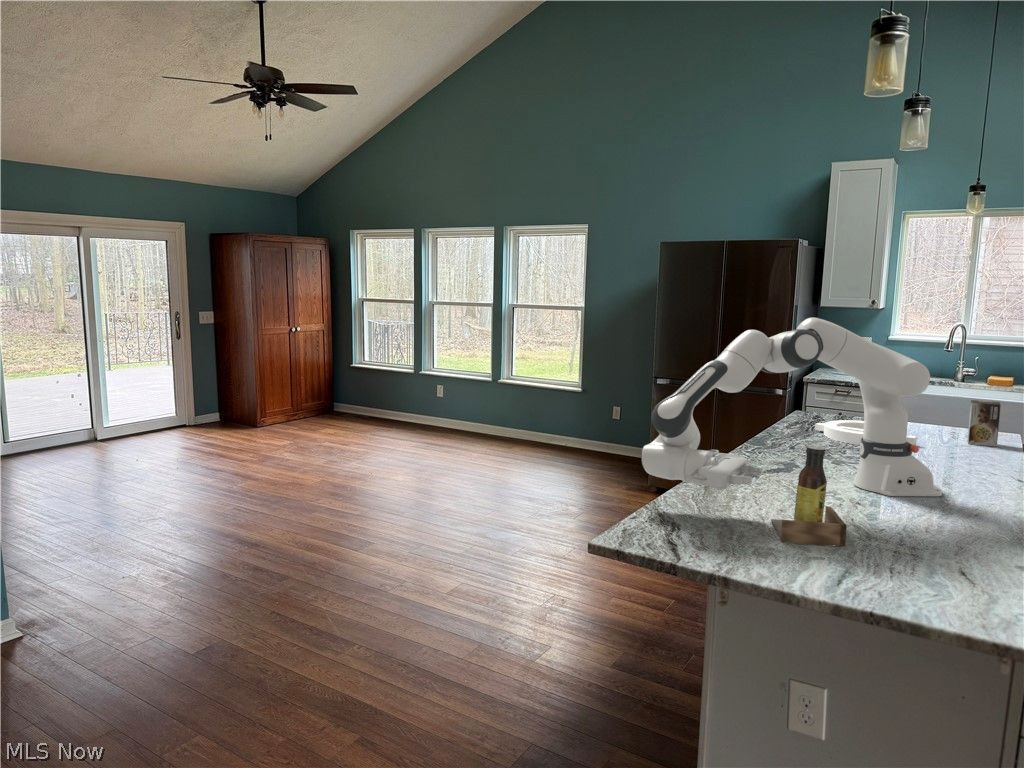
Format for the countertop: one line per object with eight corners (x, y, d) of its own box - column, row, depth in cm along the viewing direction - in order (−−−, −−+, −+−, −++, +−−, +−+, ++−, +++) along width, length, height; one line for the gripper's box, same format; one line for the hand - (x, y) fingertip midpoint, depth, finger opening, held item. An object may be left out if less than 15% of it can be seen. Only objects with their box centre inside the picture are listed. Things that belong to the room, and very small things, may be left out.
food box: (995, 443, 252) (1000, 401, 250) (997, 447, 247) (1001, 404, 245) (966, 440, 257) (971, 399, 255) (967, 444, 252) (971, 401, 250)
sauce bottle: (822, 535, 156) (832, 452, 153) (793, 530, 158) (802, 449, 155) (820, 526, 162) (829, 446, 159) (792, 521, 164) (801, 443, 161)
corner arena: (829, 526, 165) (830, 506, 164) (845, 546, 152) (846, 525, 151) (771, 522, 167) (772, 502, 167) (781, 542, 154) (782, 521, 153)
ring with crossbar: (920, 448, 247) (921, 435, 246) (844, 447, 247) (845, 434, 247) (879, 431, 275) (880, 420, 274) (811, 431, 275) (812, 420, 274)
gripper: (688, 464, 163) (745, 473, 155) (714, 448, 180) (768, 455, 172) (686, 489, 164) (744, 499, 156) (713, 470, 181) (766, 479, 173)
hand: (757, 476), depth 164 cm, fingers open, 8 cm apart
